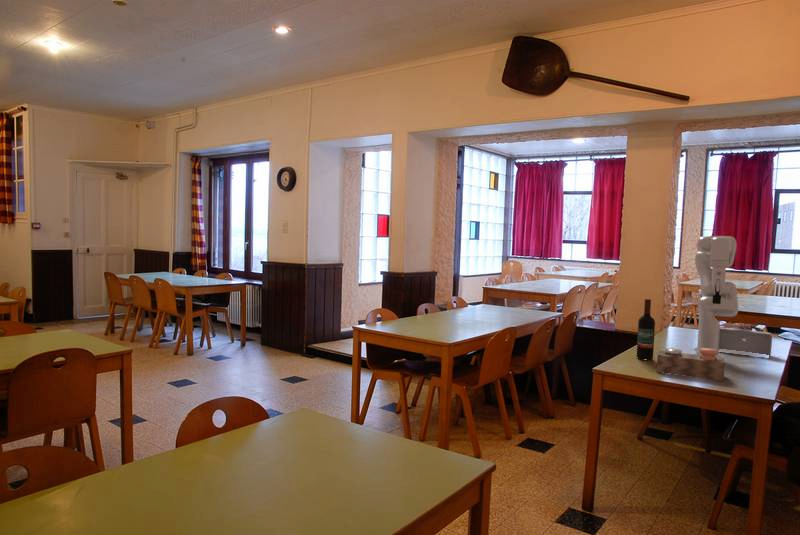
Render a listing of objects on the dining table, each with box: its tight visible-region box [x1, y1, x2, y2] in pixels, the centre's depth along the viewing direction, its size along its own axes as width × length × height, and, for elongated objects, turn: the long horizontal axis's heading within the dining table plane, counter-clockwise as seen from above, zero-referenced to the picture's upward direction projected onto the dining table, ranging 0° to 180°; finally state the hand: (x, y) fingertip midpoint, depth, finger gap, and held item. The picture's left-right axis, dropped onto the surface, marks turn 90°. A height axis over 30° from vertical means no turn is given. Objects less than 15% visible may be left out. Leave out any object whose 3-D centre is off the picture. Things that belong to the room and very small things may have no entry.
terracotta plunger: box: [700, 348, 719, 361], centre depth 237 cm, size 7×7×9 cm
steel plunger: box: [664, 347, 683, 356], centre depth 244 cm, size 7×7×9 cm
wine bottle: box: [636, 298, 656, 361], centre depth 267 cm, size 8×8×30 cm
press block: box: [656, 349, 726, 382], centre depth 241 cm, size 26×11×8 cm, turn 61°
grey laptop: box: [719, 326, 773, 359], centre depth 287 cm, size 25×16×12 cm, turn 53°
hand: (716, 303), depth 248 cm, fingers closed
